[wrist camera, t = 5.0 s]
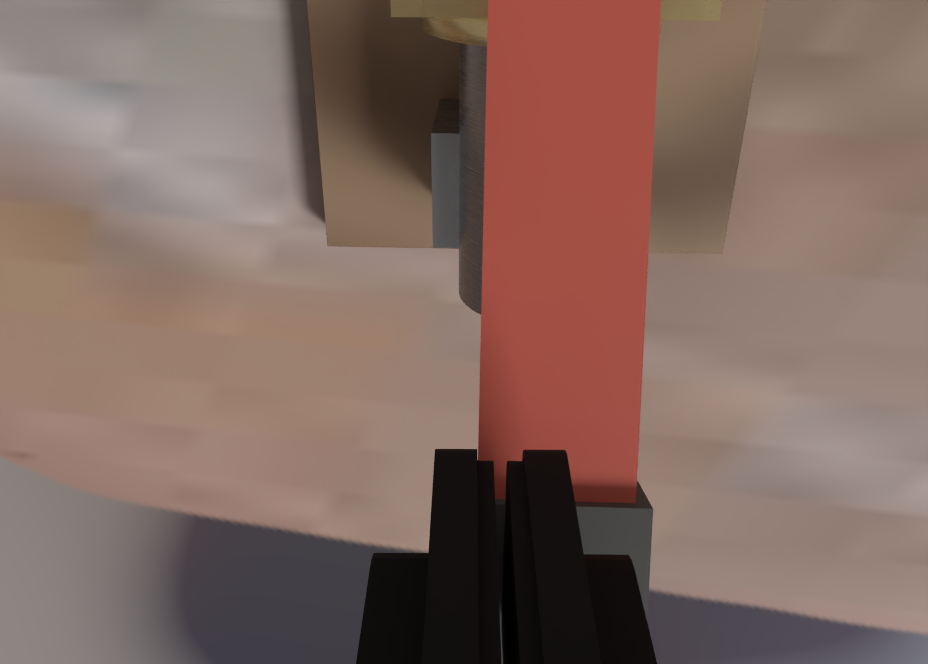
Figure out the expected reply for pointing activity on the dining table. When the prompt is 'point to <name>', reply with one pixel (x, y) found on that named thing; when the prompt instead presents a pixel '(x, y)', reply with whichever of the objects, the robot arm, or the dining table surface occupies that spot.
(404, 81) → the mount board
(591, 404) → the lever
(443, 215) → the valve
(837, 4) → the dining table surface
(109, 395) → the dining table surface
